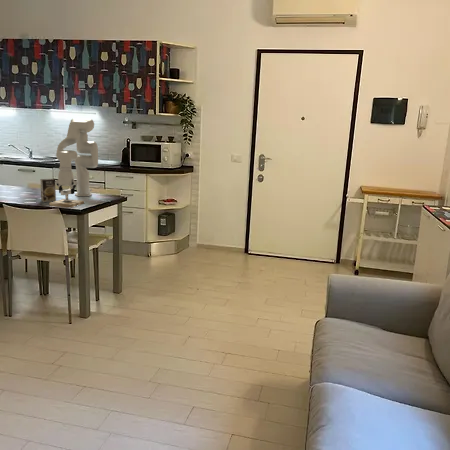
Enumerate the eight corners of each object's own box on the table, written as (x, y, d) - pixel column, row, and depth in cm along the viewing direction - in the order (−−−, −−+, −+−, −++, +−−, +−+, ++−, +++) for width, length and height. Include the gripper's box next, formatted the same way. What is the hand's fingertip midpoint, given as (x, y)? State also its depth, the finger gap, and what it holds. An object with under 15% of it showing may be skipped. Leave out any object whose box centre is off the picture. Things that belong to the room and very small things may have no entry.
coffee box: (43, 202, 339) (42, 180, 335) (41, 200, 344) (39, 178, 340) (56, 201, 344) (55, 179, 341) (53, 199, 349) (52, 178, 346)
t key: (64, 202, 329) (64, 191, 327) (60, 201, 331) (59, 190, 329) (74, 200, 337) (74, 189, 336) (69, 199, 339) (69, 188, 337)
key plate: (63, 201, 345) (63, 198, 344) (84, 203, 340) (84, 200, 340) (49, 205, 329) (49, 202, 328) (70, 207, 324) (70, 204, 324)
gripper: (51, 168, 328) (53, 193, 332) (73, 170, 323) (74, 195, 327) (58, 167, 335) (59, 191, 339) (79, 169, 330) (80, 193, 334)
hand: (66, 193), depth 333 cm, fingers open, 9 cm apart
